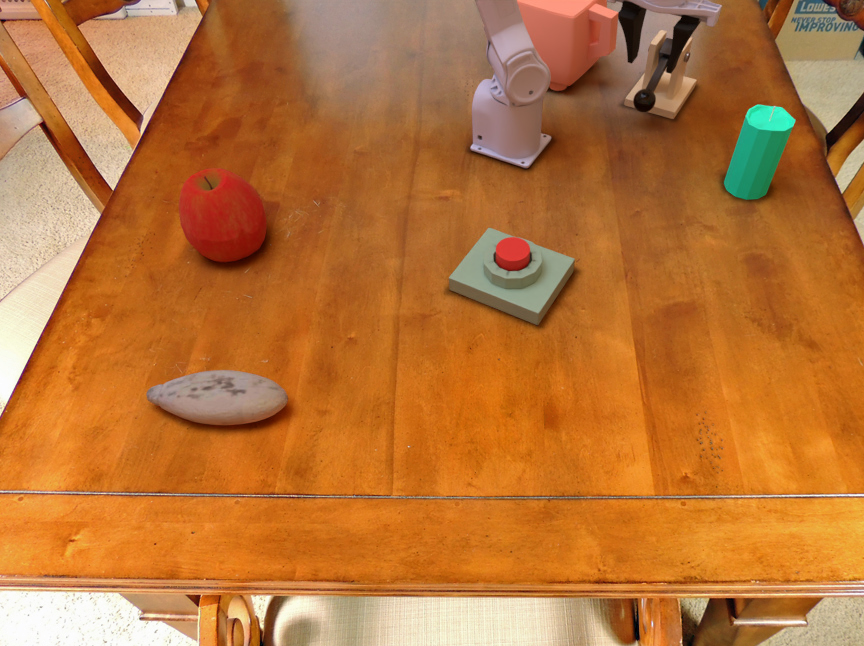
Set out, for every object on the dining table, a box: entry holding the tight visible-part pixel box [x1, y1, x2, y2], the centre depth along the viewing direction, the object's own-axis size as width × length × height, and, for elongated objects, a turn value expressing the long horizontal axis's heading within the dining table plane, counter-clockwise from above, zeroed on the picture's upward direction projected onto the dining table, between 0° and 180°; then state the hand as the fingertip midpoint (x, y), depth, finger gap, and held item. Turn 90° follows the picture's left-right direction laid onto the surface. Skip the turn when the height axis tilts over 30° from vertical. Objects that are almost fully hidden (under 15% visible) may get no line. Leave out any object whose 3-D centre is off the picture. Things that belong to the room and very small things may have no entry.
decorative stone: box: [146, 369, 289, 426], centre depth 72 cm, size 6×16×3 cm, turn 88°
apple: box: [178, 167, 268, 263], centre depth 84 cm, size 10×10×10 cm
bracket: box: [623, 29, 698, 120], centre depth 103 cm, size 10×8×9 cm
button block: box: [448, 227, 576, 326], centre depth 82 cm, size 12×10×4 cm
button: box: [496, 236, 530, 271], centre depth 80 cm, size 4×4×2 cm
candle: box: [723, 104, 797, 201], centre depth 89 cm, size 6×6×12 cm
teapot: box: [517, 0, 619, 92], centre depth 106 cm, size 22×13×14 cm, turn 56°
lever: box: [633, 37, 673, 113], centre depth 100 cm, size 12×3×3 cm, turn 151°
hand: (651, 64), depth 94 cm, fingers open, 5 cm apart
